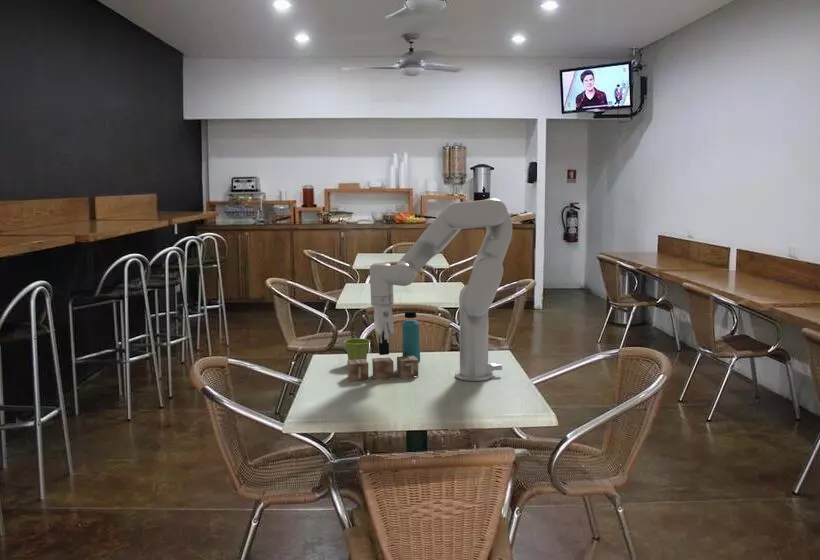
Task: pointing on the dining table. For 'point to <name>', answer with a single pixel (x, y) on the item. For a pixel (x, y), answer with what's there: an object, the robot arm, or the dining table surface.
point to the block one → (358, 370)
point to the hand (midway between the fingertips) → (384, 354)
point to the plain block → (383, 368)
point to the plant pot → (357, 348)
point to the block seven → (407, 366)
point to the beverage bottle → (411, 336)
